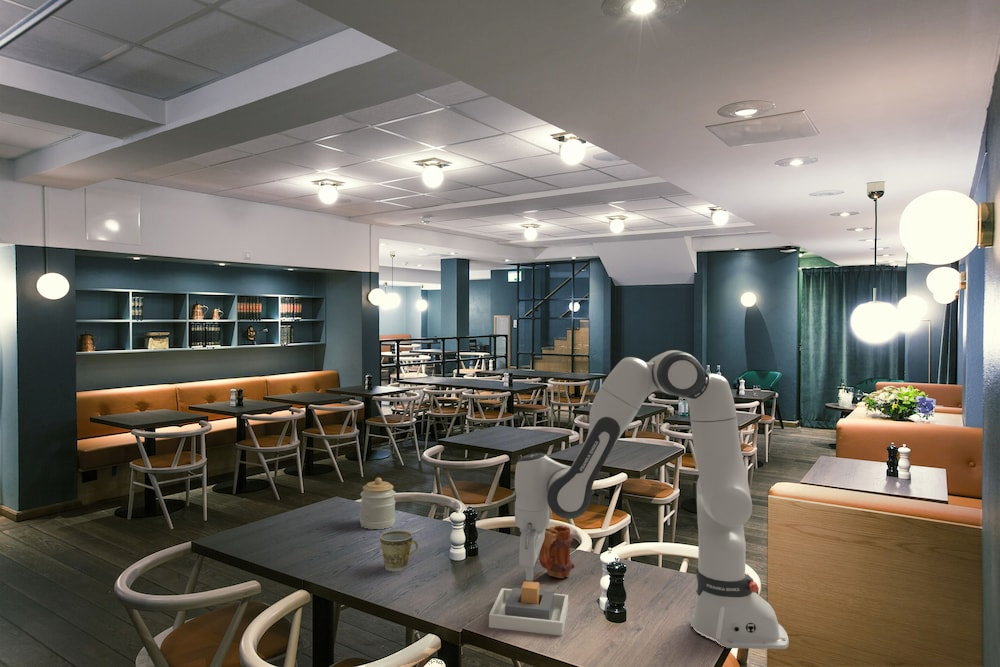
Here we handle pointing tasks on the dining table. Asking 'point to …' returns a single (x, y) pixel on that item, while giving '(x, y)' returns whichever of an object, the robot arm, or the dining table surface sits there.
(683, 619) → the dining table surface
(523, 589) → the plug
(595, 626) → the dining table surface
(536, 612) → the socket block
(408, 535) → the ceramic cup
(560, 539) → the mug
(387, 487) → the jar
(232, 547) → the dining table surface
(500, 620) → the walled box
